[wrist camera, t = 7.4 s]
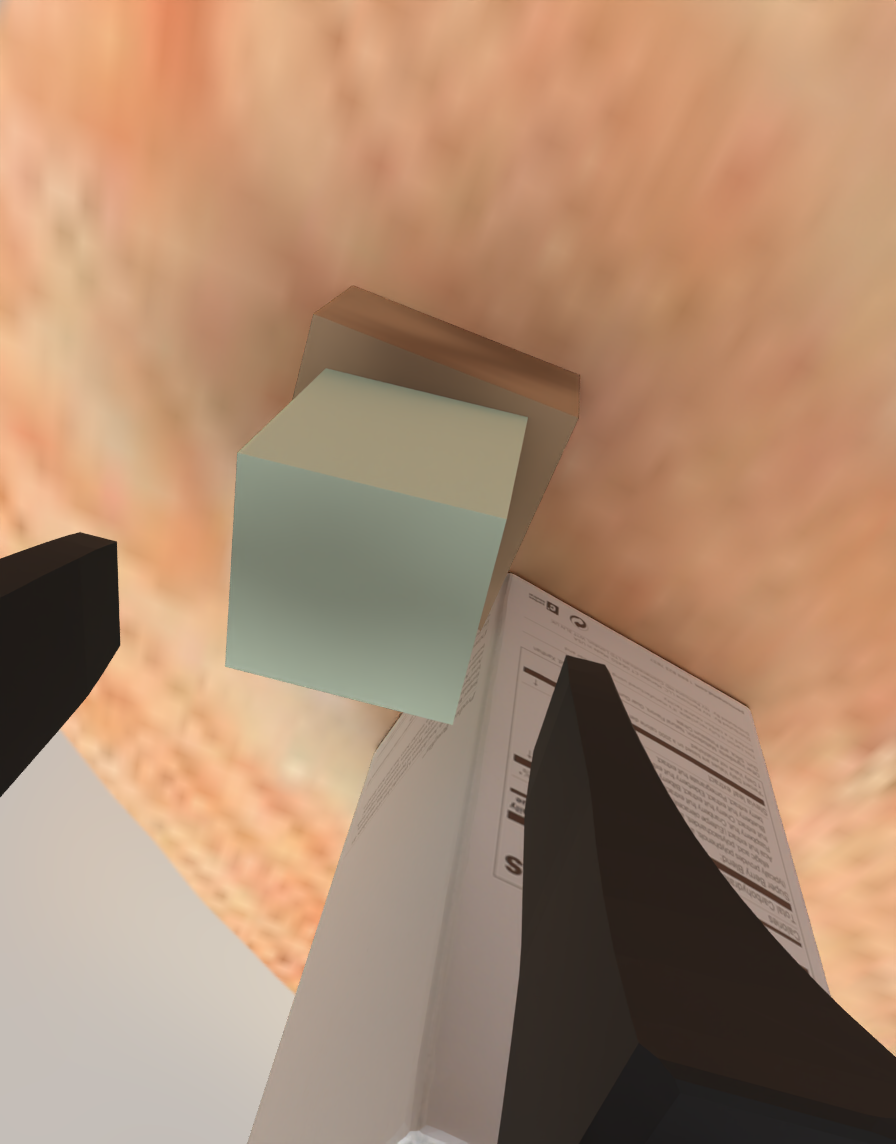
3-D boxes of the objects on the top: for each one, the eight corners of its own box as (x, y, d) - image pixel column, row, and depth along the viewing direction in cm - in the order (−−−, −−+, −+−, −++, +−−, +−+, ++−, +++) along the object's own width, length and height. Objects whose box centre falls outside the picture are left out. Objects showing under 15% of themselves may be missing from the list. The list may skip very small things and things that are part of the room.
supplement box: (588, 868, 28) (587, 1496, 15) (369, 751, 27) (170, 1326, 14) (763, 708, 24) (970, 1411, 11) (509, 559, 22) (402, 1150, 10)
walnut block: (579, 372, 20) (578, 417, 17) (495, 563, 23) (481, 630, 20) (355, 283, 20) (313, 313, 17) (300, 489, 23) (256, 545, 20)
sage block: (528, 417, 17) (506, 519, 13) (483, 589, 19) (452, 725, 15) (325, 368, 17) (237, 453, 13) (305, 545, 19) (225, 666, 15)
